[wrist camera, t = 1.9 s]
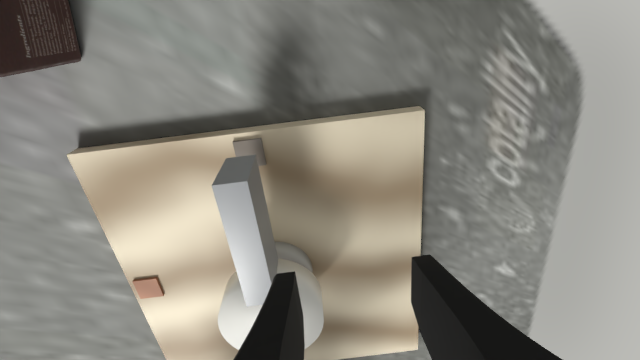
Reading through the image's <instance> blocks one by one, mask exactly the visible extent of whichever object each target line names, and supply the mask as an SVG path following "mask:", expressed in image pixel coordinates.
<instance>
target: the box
mask: <svg viewBox="0 0 640 360" xmlns="http://www.w3.org/2000/svg"><path fill="white" fill-rule="evenodd" d="M79 61H81V55H80V51H79V46H78V41H77V36H76V32H75V27H74V23H73V19H72V15H71V10H70V6H69V2H68V0H0V77H5V76H9V75H14V74H20V73H25V72H30V71H35V70H40V69H44V68H49V67H54V66H58V65H64V64H69V63H75V62H79Z"/></svg>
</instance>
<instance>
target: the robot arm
mask: <svg viewBox="0 0 640 360" xmlns="http://www.w3.org/2000/svg"><path fill="white" fill-rule="evenodd" d="M411 304H412V307H413V310H414V314H415V317H416V320H417V323H418V327H419V330H420V332H421V335H422V337H423V340H424V342H425V344H426V347H427V349H428V351H429V353H430V356H431V358H432V360H562V359H560V358H559V357H557V356H556V355H554V354H553V353H551V352H550V351H548V350H546V349H545V348H544V347H542V346H541V345H539V344H538V343H536V342H535V341H533V340H532V339H530V338H529V337H527V336H526V335H524V334H523V333H522V332H520V331H519V330H518V329H516V328H515V327H514V326H512V325H511V324H509V323H508V322H507V321H506V320H504V319H503V318H502V317H500V316H499V315H498V314H497V313H495V312H494V311H493V310H492V309H490V308H489V307H488V306H487V305H485V304H484V303H483V302H482V301H481V300H480V299H478V298H477V297H476V296H475V295H474V294H473V293H471V292H470V291H469V290H468V289H467V288H466V287H464V286H463V285H462V284H461V283H460V282H459V281H458V280H457V279H456V278H455V277H453V276H452V275H451V274H450V273H449V272H448V271H447V270H446V269H445V268H444V267H443V266H442V265H441V264H440V263H439V262H437V261H436V260H435V259H434V258H433V257H432V256H431V255H423V256H415V257H412V263H411ZM304 348H305V343H304V320H303V311H302V306H301V300H300V295H299V290H298V284H297V279H296V274H295V271H294V272H286V273H278V274H276V275H275V276H274V279H273V282H272V284H271V287H270V289H269V292H268V294H267V297H266V299H265V301H264V303H263V305H262V308H261V310H260V312H259V314H258V316H257V318H256V320H255V322H254V324H253V326H252V328H251V330H250V331H249V333H248V335H247V337H246V339H245V340H244V342H243V344H242V346H241V347H240V349H239V351H238V353H237V354H236V356H235V358H234V359H233V360H304Z"/></svg>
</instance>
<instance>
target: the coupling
mask: <svg viewBox="0 0 640 360" xmlns="http://www.w3.org/2000/svg"><path fill="white" fill-rule="evenodd" d="M212 189H213V192H214V196H215V199H216V203H217V206H218V210H219V213H220V217H221V220H222V223H223V227H224V230H225V234H226V237H227V241H228V244H229V248H230V251H231V255H232V258H233V261H234V265H235V268H236V272H235V273H234V274H233V275H232V276H231V277H230V279H229V281H228V283H227V285H226V288H225V292H224V296H223V299H222V303H221V306H220V310H219V314H218V326H219V330H220V332H221V334H222V336H223V337H224V339H225V340H226V341H227V342H228V343H229V344H230V345H232V346H233V347H234V348H236V349H238V350H239V349H240V347H241V346H242V344H243V342H244V340H245V339H246V337H247V335H248V333H249V331H250V330H251V328H252V326H253V324H254V322H255V320H256V318H257V316H258V314H259V312H260V310H261V308H262V305H263V303H264V301H265V299H266V297H267V294H268V292H269V289H270V287H271V284H272V282H273V279H274V276H275V275H276V274H278V273H286V272H294V271H295V274H296V279H297V284H298V290H299V295H300V300H301V306H302V311H303V320H304V343H305V348H304V349H306V348H307V347H309V346H310V345H311V344H312V343H314V341H315V340H316V339H317V338H318V337H319V335H320V333H321V331H322V328H323V324H324V316H323V303H322V291H321V286H320V284H319V281H318V280H317V278H316V277H315V276H314V274H313V273H312V272H311V271H309V270H308V269H307V268H305V267H304V266H302V265H300V264H298V263H296V262H293V261H289V260H285V259H278V256H277V251H276V247H275V242H274V237H273V232H272V228H271V223H270V218H269V214H268V209H267V204H266V200H265V195H264V190H263V185H262V181H261V176H260V171H259V167H258V162H257V157H256V155H248V156H240V157H232V158H226V159H225V161H224V163H223V165H222V167H221V169H220V171H219V172H218V174H217V176H216V178H215V180H214V182H213V184H212Z"/></svg>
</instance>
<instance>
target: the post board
mask: <svg viewBox="0 0 640 360" xmlns="http://www.w3.org/2000/svg"><path fill="white" fill-rule="evenodd" d="M424 125H425V110H424V109H423V108H421V107H420V106H415V107H407V108H399V109H391V110H383V111H375V112H367V113H359V114H350V115H342V116H334V117H326V118H318V119H310V120H302V121H294V122H286V123H278V124H270V125H262V126H254V127H246V128H238V129H230V130H222V131H214V132H206V133H198V134H189V135H181V136H173V137H165V138H157V139H149V140H141V141H133V142H125V143H117V144H109V145H101V146H93V147H85V148H77V149H76V150H74V151H72V152H70V153H69V154H67V157H68V159H69V161H70V163H71V165H72V167H73V169H74V171H75V173H76V175H77V177H78V179H79V181H80V183H81V185H82V187H83V189H84V192H85V194H86V196H87V198H88V200H89V202H90V204H91V206H92V208H93V210H94V212H95V214H96V216H97V218H98V220H99V222H100V224H101V226H102V228H103V231H104V233H105V235H106V237H107V239H108V241H109V243H110V245H111V247H112V249H113V251H114V253H115V255H116V257H117V259H118V261H119V263H120V265H121V267H122V269H123V272H124V274H125V276H126V278H127V280H128V282H129V284H130V286H131V288H132V290H133V292H134V294H135V296H136V298H137V300H138V302H139V304H140V306H141V308H142V311H143V313H144V315H145V317H146V319H147V321H148V323H149V325H150V327H151V329H152V331H153V333H154V335H155V337H156V339H157V341H158V343H159V345H160V347H161V349H162V352H163V354H164V356H165V358H166V360H233V359H234V358H235V356H236V354H237V353H238V351H239V350H238V349H236V348H234V347H233V346H232V345H230V344H229V343H228V342H227V341H226V340H225V339H224V337H223V336H222V334H221V332H220V330H219V326H218V314H219V310H220V306H221V303H222V299H223V296H224V292H225V288H226V285H227V283H228V281H229V279H230V277H231V276H232V275H233V274H234V273H235V272H236V268H235V265H234V261H233V258H232V255H231V251H230V248H229V244H228V241H227V237H226V234H225V230H224V227H223V223H222V220H221V217H220V213H219V210H218V206H217V203H216V199H215V196H214V192H213V189H212V184H213V182H214V180H215V178H216V176H217V174H218V172H219V171H220V169H221V167H222V165H223V163H224V161H225V159H226V158H232V157H240V156H248V155H256V157H257V162H258V167H259V171H260V176H261V181H262V185H263V190H264V195H265V200H266V204H267V209H268V214H269V218H270V223H271V228H272V232H273V237H274V242H275V247H276V251H277V256H278V259H285V260H289V261H293V262H296V263H298V264H300V265H302V266H304V267H305V268H307V269H308V270H309V271H311V272H312V273H313V274H314V276H315V277H316V278H317V280H318V281H319V284H320V286H321V291H322V303H323V316H324V324H323V328H322V331H321V333H320V335H319V337H318V338H317V339H316V340H315V341H314V343H312V344H311V345H310V346H309V347H307V348H306V349H304V360H338V359H346V358H354V357H362V356H371V355H379V354H387V353H395V352H403V351H411V350H418V323H417V320H416V317H415V314H414V310H413V307H412V304H411V263H412V257H415V256H421V223H422V190H423V157H424Z"/></svg>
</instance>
